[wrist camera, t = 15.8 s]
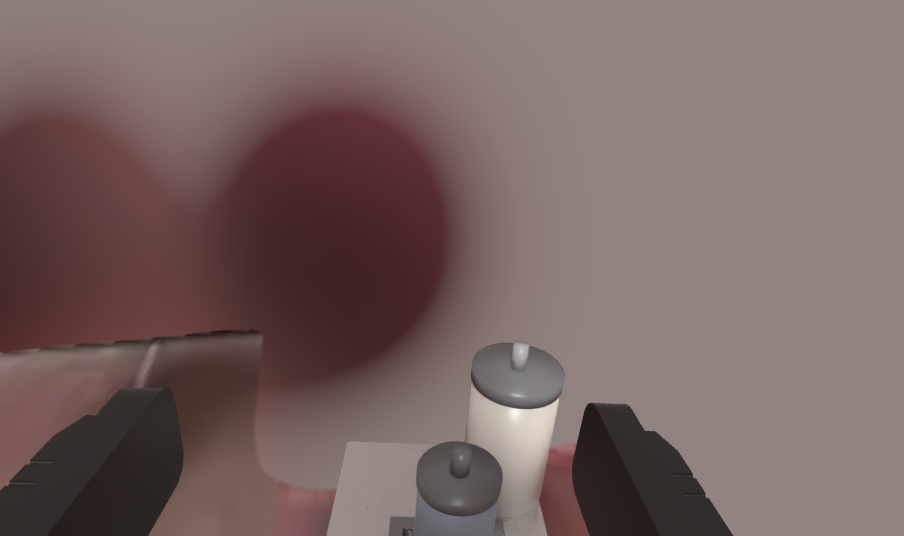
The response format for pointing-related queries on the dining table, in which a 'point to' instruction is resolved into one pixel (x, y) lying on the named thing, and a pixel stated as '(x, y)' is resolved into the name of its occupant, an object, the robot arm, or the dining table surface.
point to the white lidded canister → (515, 417)
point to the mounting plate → (396, 494)
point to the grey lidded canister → (457, 491)
